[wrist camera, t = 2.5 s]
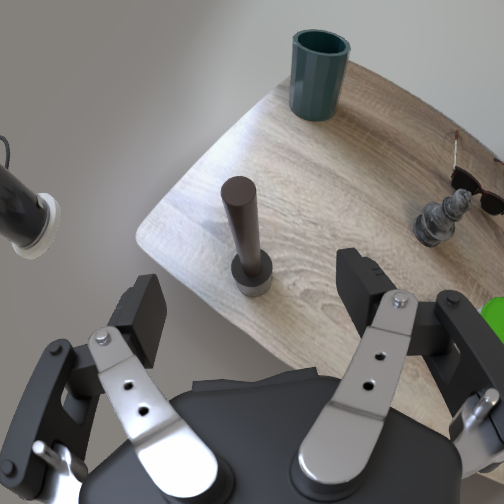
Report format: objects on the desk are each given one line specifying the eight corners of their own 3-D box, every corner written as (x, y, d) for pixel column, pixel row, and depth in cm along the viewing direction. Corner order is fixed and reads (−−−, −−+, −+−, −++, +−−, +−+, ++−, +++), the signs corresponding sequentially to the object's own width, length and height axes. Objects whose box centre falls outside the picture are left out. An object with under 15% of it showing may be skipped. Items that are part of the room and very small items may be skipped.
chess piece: (445, 221, 38) (487, 184, 27) (440, 254, 37) (487, 222, 25) (414, 206, 39) (452, 163, 28) (409, 240, 38) (451, 202, 26)
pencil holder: (281, 111, 46) (283, 45, 33) (299, 85, 48) (304, 24, 35) (327, 128, 44) (342, 62, 31) (341, 100, 47) (356, 40, 33)
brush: (230, 286, 37) (185, 207, 16) (246, 257, 38) (224, 150, 17) (261, 302, 36) (255, 239, 15) (277, 272, 37) (290, 175, 16)
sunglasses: (441, 183, 40) (455, 166, 36) (448, 130, 45) (458, 114, 41) (497, 223, 38) (513, 210, 33) (497, 165, 43) (509, 152, 38)
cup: (431, 316, 34) (502, 295, 20) (469, 304, 34) (538, 280, 20) (439, 370, 32) (511, 372, 17) (477, 354, 32) (547, 346, 17)
